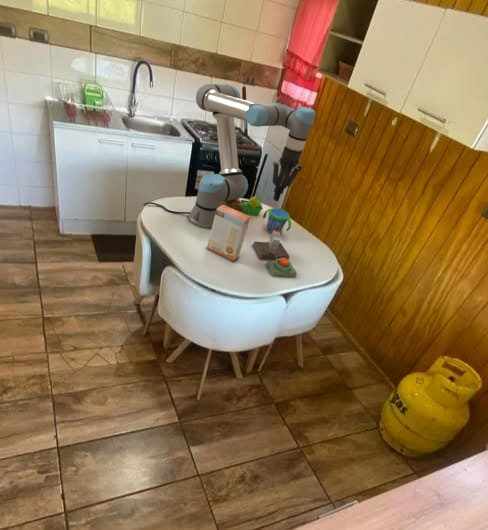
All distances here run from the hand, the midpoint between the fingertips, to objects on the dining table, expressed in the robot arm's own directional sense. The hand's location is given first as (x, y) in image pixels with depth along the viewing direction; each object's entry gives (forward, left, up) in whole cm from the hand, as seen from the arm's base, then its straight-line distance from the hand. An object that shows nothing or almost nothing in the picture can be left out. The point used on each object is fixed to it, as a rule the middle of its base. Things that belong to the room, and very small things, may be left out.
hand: (275, 199), depth 168 cm
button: (+3, -20, -21) cm, 29 cm away
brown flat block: (+3, -6, -24) cm, 25 cm away
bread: (-9, +33, -25) cm, 42 cm away
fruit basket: (+5, +32, -25) cm, 41 cm away
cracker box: (-21, -8, -25) cm, 33 cm away
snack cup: (+13, +15, -25) cm, 32 cm away
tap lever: (+3, -7, -22) cm, 23 cm away
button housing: (+3, -20, -24) cm, 32 cm away
